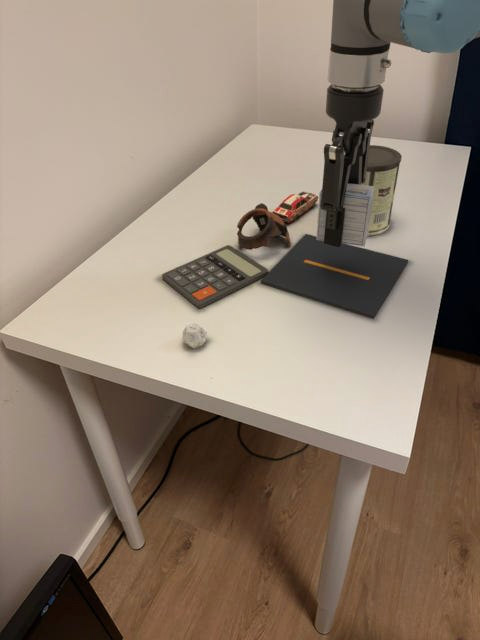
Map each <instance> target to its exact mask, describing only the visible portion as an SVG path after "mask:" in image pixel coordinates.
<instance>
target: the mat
mask: <svg viewBox="0 0 480 640" xmlns="http://www.w3.org/2000/svg"><path fill="white" fill-rule="evenodd" d="M316 237H317V235H312V234H308V233H305V234H304V235H303V236H302V237H301V238H300V239H299V240H298V242H296V244H294V246H292V247H291V248H290V250H289V251H288V252H287V253H286V254H285V255H284V256H283V257H282V258H281V259H280V260H279V261H278V262H277V263H276V264H275V265H274V266H273V267H272V268H271V269H270V270H269V271H268V274H267V275H266V276H264V277H262V278H261V280H260V284H262V285H264V286H265V285H266V286H268V287H271V288H274V289H277V290H281V291H283V292H287V293H291V294H294V295H296V296H299V297H303V298H305V299H310V300H311V301H316V302H319V303H321V304H325V305H328V306H332V307H335V308H338V309H342V310H344V311H347V312H350V313H354V314H357V315H361V316H363V317H367V318H370V319H373V320H374V319H375V318H376V315H377V314H378V313H379V311H380V309H381V308H382V306H383V304H384V302H385V301H386V299H387V298H388V296H389V294H390V292H391V291H392V290H393V288H394V286H395V285H396V283H397V281H398V279H399V278H400V276H401V274H402V273H403V271H404V270H405V268H406V266H407V265H408V263H409V259H407V258H403V257H399V256H396V255H395V256H394V255H391V254H387V253H383V252H379V251H375V250H371V249H367V248H364V247H361V246H357V245H350V244H343V243H341V246H340V247H336V246H332V245H328V244H324V241H321V240H317V239H316Z"/></svg>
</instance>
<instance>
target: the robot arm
mask: <svg viewBox="0 0 480 640" xmlns="http://www.w3.org/2000/svg"><path fill="white" fill-rule="evenodd" d="M331 15H332V17H331V33H330V48H329V57H328V67H327V82H328V83H329V84H330V85H329V86H328V87H327V89H326V101H325V114H326V115H327V117H328V118H330V119H333V121H334V122H335V126H334V130H333V132H332V136H331V144H329V143H325V145H324V147H323V160H324V163H323V175H322V187H321V189H322V197H321V209H323V210H327V212H326V223H325V235H324V244H328V245H332V246H336V247H340V246H341V243H342V234H343V225H344V216H345V208H343V204H344V199H345V194H346V189H347V184H348V183H349V184H358V185H361V183H362V184H364V182H365V180H366V179H365V178H366V171H367V163H368V155H369V147H370V145H371V139H372V134H373V128H374V125H375V119H377V118H378V117H379V116H380V114H381V113H382V112H381V111H382V106H383V105H382V104H383V98H384V90H385V89H384V88H383V86H382V85H383V84H384V83H385V80H386V74H387V69H389V68H391V66H392V60H391V59H389V58H388V57H389V52H390V49H391V44H396V45H399V46H404V47H408V48H412V49H414V50H416V51H420V52H422V53H426V54H430V53H437V54H444V55H445V54H447V55H448V54H453V53H457V52H459V51H460V50H461V49H463V48H464V47H465V46H466V45H467V44H468V43H470V42H472V40H474V39H475V40H476V39H479V38H480V0H333V1H332V14H331Z"/></svg>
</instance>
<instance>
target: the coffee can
mask: <svg viewBox="0 0 480 640" xmlns="http://www.w3.org/2000/svg"><path fill="white" fill-rule="evenodd" d="M402 158H403V157H402V154H401V153H400V152H399V151H397V150H396V149H394V148H392V147H388V146H384V145H374V144H370V147H369V155H368V163H367V171H366V178H365V179H366V180H365V182H364V184H362V183H361V185H366V186H374V187H375V190H374V197H373V204H372V211H371V218H370V225H369V232H368V236H367V237H372V236H376V235H381V234H384V233H385V232H386V231H388V229H389V228H390V222H391V217H392V210H393V207H394V206H393V204H394V199H395V193H396V187H397V182H398V176H399V170H400V164H401V162H402Z"/></svg>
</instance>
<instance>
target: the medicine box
mask: <svg viewBox="0 0 480 640" xmlns="http://www.w3.org/2000/svg"><path fill="white" fill-rule="evenodd" d="M374 190H375V187H374V186H366V185H358V184H349V183H348V184H347V189H346V194H345V199H344V204H343V208H345V216H344V225H343V234H342V243H343V244H348V245H352V246H356V247H362V248H364V247H365V246H366V243H367V239H368V237H369V236H368V232H369V225H370V218H371V211H372V204H373V197H374ZM321 197H322V188H321V190H320V191H319V196H318V212H317V225H316V239H317V240H321V241H324V235H325V223H326V212H327V210H323V209H321Z"/></svg>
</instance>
